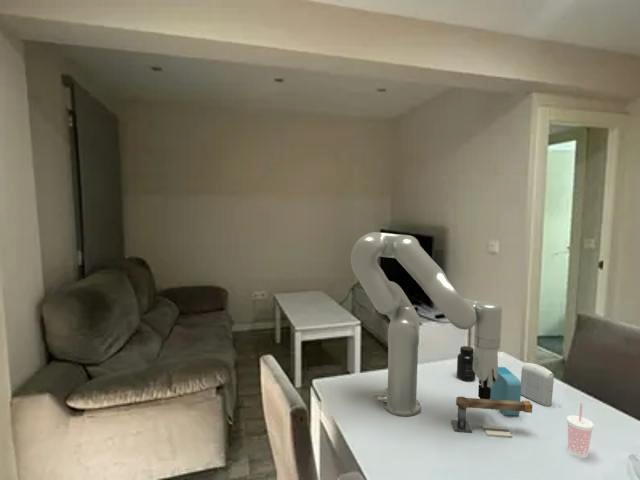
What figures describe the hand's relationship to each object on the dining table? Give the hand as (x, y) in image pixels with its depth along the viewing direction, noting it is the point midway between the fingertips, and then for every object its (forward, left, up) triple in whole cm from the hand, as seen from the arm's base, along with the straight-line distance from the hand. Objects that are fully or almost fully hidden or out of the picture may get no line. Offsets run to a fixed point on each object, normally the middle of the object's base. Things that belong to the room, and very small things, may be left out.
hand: (484, 398), depth 121 cm
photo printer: (+22, +15, -7) cm, 28 cm away
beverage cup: (+21, -14, -7) cm, 26 cm away
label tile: (+2, -7, -7) cm, 10 cm away
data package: (+9, +8, -7) cm, 14 cm away
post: (-8, -6, -7) cm, 12 cm away
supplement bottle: (+2, +29, -7) cm, 30 cm away
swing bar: (+1, -6, 0) cm, 6 cm away
